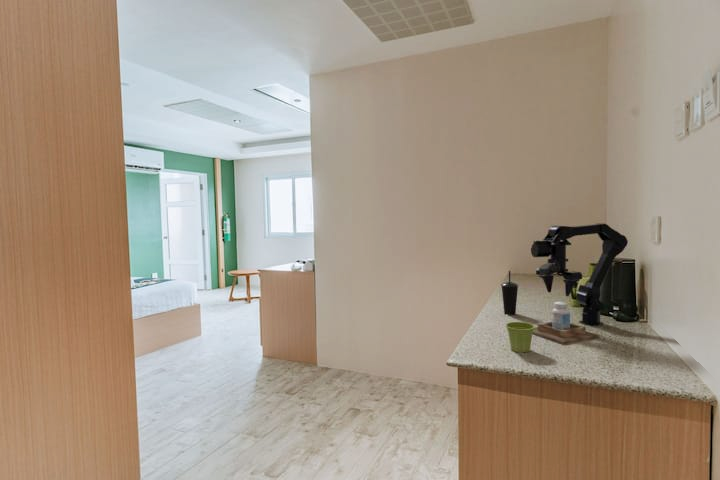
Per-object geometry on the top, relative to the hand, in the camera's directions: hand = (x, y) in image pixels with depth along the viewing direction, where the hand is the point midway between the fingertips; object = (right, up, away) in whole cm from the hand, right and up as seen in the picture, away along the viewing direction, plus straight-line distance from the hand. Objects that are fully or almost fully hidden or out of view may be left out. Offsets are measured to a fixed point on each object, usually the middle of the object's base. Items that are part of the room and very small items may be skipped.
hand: (558, 294), depth 171 cm
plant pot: (-26, -16, -27) cm, 41 cm away
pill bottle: (-4, -13, -12) cm, 18 cm away
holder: (-4, -14, -12) cm, 19 cm away
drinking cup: (-12, -12, +22) cm, 28 cm away
